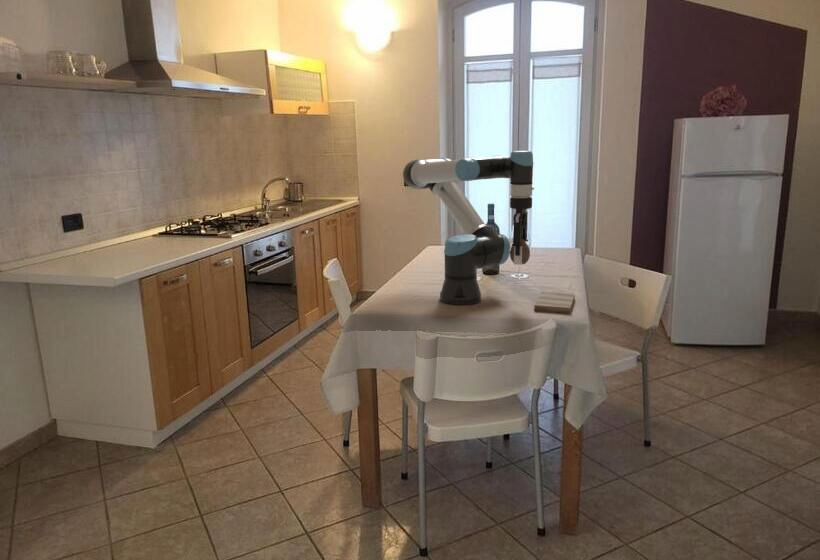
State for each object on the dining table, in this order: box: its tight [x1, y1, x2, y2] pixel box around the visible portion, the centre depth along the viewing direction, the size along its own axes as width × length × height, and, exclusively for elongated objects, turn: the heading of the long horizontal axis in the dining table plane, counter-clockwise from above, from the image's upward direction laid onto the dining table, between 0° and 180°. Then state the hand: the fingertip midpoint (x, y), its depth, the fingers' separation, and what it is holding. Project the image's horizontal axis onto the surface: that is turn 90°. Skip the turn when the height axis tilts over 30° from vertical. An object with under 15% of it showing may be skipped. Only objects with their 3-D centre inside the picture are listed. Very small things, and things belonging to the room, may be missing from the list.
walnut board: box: [533, 291, 576, 314], centre depth 218 cm, size 18×12×2 cm, turn 161°
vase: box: [509, 238, 531, 265], centre depth 216 cm, size 7×7×9 cm
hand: (519, 262), depth 217 cm, fingers closed on vase, 7 cm apart
